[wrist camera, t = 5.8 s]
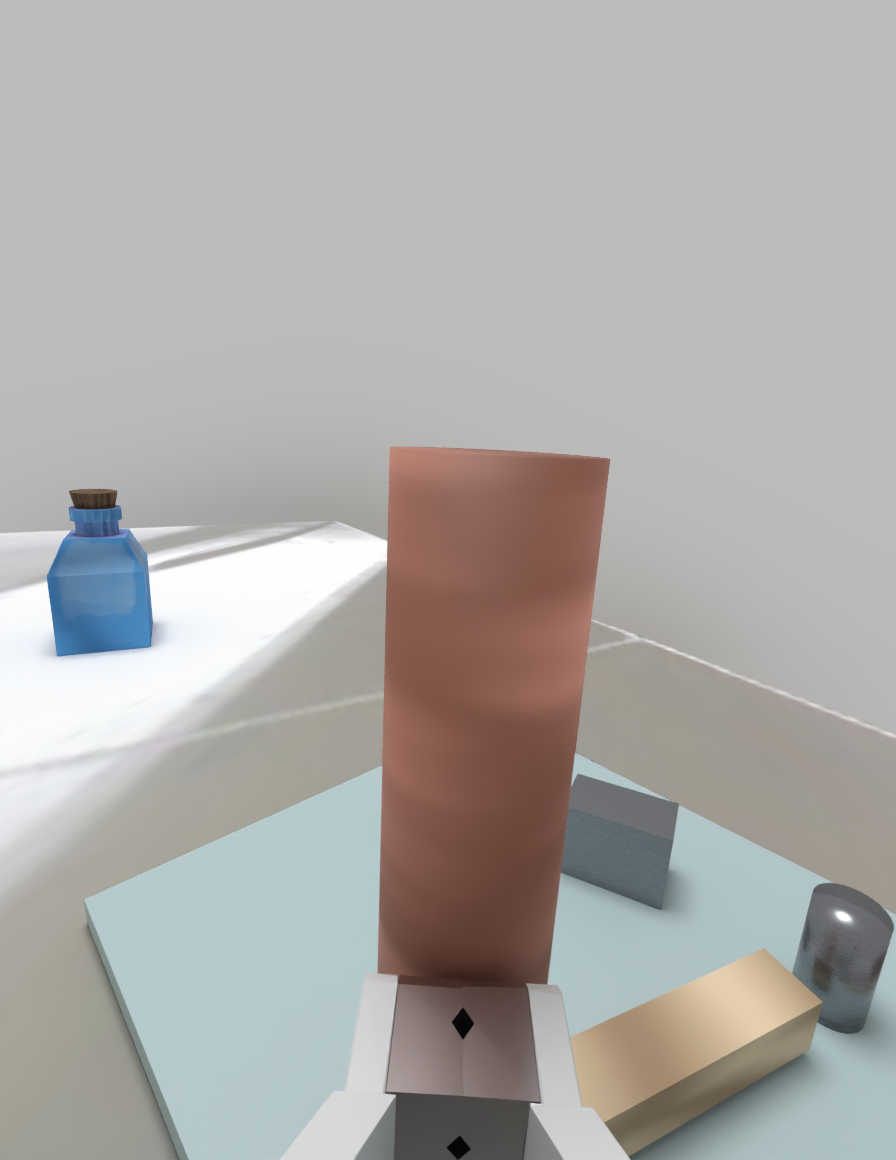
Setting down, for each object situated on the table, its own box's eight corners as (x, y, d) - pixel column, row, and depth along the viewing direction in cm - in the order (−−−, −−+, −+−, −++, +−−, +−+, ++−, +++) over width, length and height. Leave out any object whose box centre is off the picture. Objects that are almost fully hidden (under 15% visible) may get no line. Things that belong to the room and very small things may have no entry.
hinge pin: (774, 1022, 18) (803, 906, 17) (794, 983, 19) (822, 873, 18) (848, 1074, 17) (886, 951, 15) (864, 1028, 18) (899, 911, 17)
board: (86, 922, 20) (84, 899, 20) (496, 728, 35) (497, 713, 35) (708, 2510, 5) (728, 2500, 5) (963, 975, 20) (971, 952, 20)
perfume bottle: (57, 656, 42) (36, 495, 39) (70, 629, 48) (52, 486, 45) (150, 647, 45) (137, 495, 42) (152, 622, 50) (141, 487, 47)
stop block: (555, 870, 22) (562, 804, 22) (570, 834, 24) (577, 773, 24) (661, 910, 21) (673, 841, 20) (667, 868, 23) (678, 803, 22)
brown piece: (734, 972, 18) (847, 464, 14) (835, 1074, 15) (1012, 475, 11) (355, 1151, 13) (363, 444, 9) (399, 1351, 10) (441, 455, 6)
